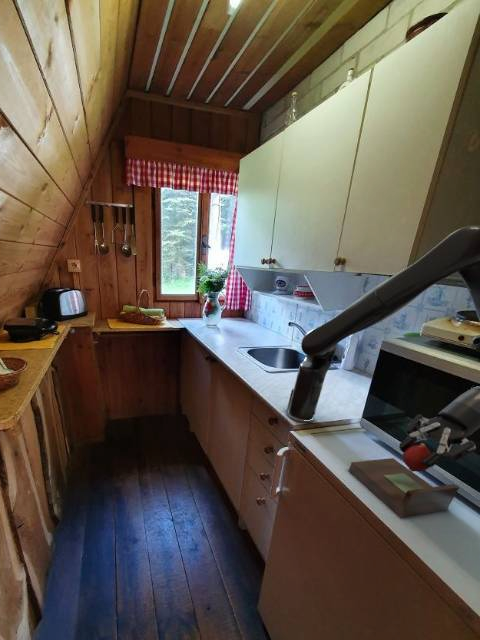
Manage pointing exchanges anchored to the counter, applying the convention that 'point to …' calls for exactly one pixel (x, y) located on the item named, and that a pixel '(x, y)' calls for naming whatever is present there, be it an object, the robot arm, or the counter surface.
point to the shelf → (402, 487)
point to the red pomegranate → (416, 457)
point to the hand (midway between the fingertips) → (412, 457)
